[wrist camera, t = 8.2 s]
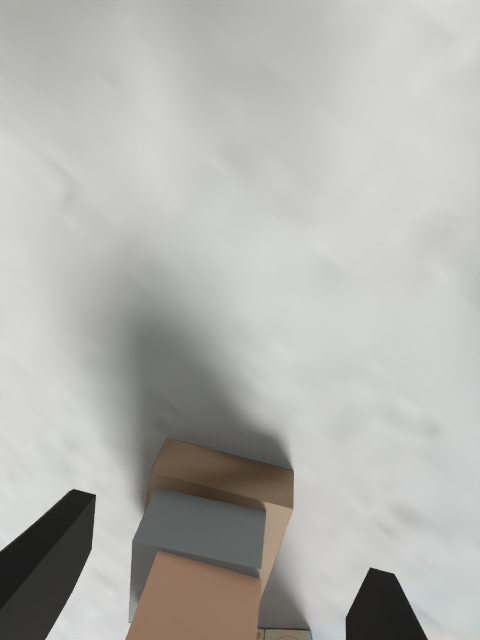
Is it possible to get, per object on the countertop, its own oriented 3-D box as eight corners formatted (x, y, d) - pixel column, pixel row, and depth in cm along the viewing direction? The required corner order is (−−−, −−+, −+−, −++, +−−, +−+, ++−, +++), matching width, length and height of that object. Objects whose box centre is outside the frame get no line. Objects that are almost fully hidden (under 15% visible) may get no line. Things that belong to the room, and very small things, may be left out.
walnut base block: (293, 465, 22) (293, 509, 19) (264, 552, 25) (260, 602, 22) (169, 432, 22) (151, 471, 19) (153, 522, 25) (135, 567, 22)
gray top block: (266, 511, 19) (261, 569, 17) (249, 586, 22) (242, 649, 19) (155, 487, 20) (132, 540, 17) (149, 564, 22) (128, 622, 19)
